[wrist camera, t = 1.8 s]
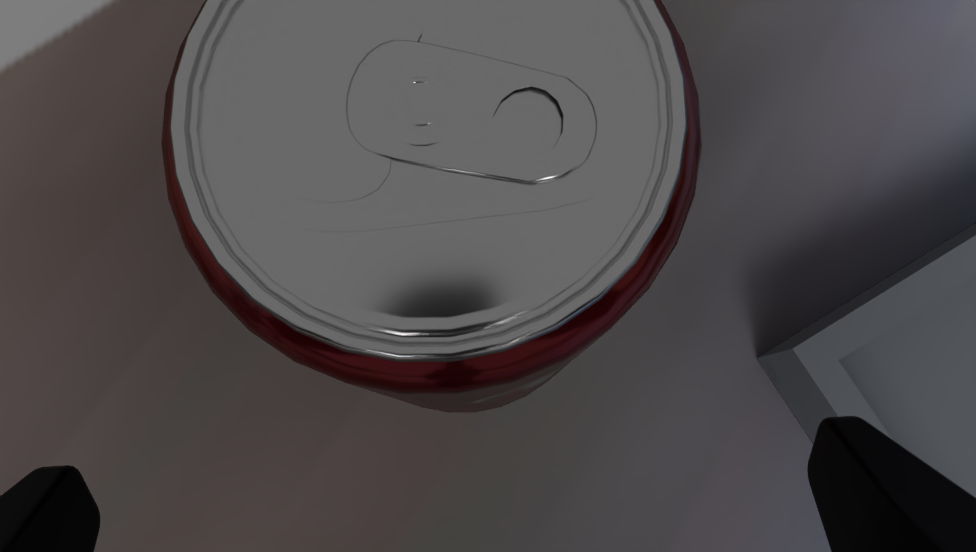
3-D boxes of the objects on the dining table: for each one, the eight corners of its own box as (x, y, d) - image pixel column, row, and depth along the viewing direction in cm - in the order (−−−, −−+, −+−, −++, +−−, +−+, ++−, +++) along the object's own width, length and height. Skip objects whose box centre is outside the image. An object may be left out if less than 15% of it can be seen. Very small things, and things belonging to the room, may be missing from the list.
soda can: (300, 370, 21) (47, 292, 9) (381, 135, 22) (256, -202, 10) (551, 446, 20) (636, 470, 8) (618, 201, 22) (770, -72, 10)
